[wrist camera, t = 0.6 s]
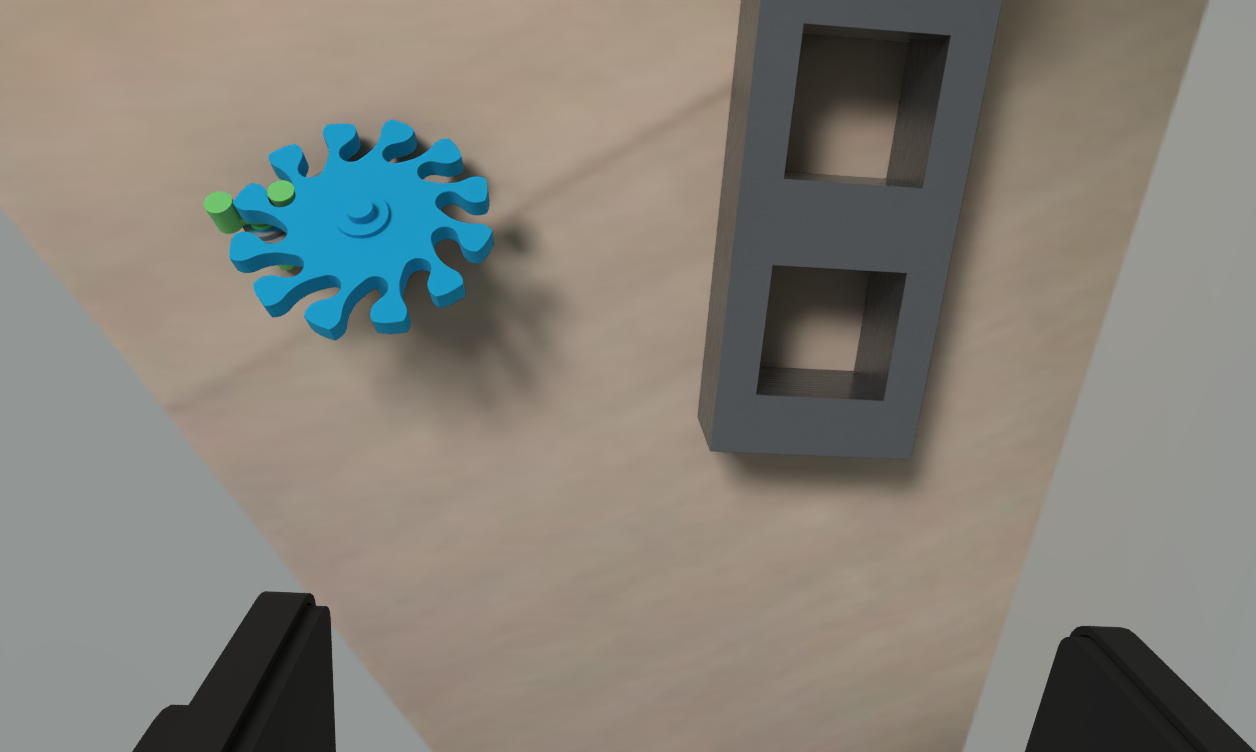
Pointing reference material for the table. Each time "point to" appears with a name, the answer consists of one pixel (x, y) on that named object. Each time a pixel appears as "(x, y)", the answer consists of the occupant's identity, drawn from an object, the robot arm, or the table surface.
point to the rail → (840, 228)
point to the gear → (355, 227)
